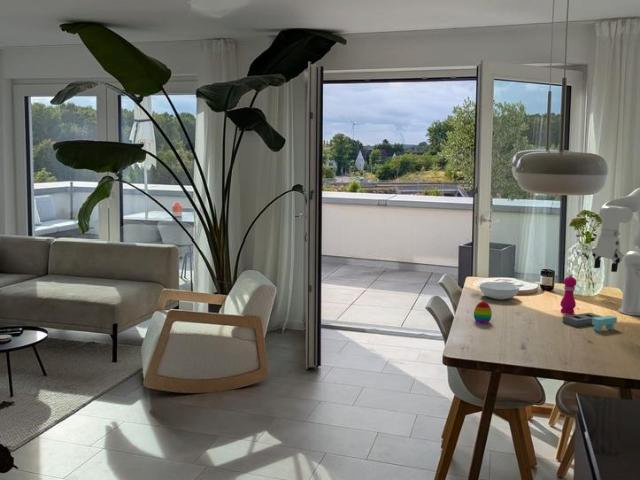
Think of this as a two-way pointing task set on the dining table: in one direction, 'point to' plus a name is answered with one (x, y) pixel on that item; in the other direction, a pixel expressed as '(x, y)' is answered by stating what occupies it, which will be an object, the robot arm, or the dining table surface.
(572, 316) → the rail
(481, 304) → the decorative egg
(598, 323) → the clip
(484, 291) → the serving bowl
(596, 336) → the dining table surface
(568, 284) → the pepper mill
